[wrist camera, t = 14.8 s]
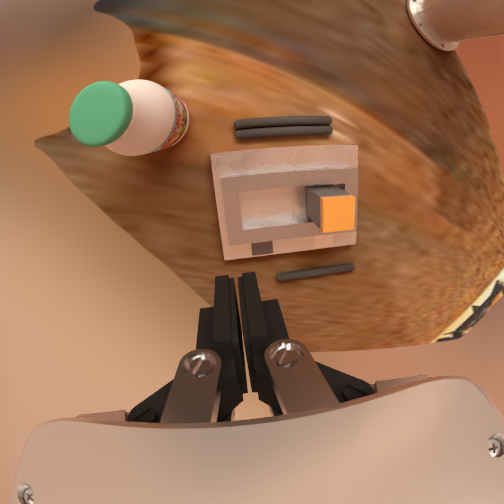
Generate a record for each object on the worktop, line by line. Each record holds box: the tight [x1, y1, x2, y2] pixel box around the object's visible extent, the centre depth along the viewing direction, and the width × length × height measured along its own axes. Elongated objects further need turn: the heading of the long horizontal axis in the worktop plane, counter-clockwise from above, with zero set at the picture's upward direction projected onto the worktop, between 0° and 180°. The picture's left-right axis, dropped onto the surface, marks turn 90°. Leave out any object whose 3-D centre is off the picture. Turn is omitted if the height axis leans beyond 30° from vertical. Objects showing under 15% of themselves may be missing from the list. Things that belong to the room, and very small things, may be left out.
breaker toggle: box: [306, 185, 355, 233], centre depth 33 cm, size 4×4×7 cm
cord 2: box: [276, 263, 355, 281], centre depth 42 cm, size 13×1×1 cm, turn 95°
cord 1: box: [234, 116, 333, 139], centre depth 33 cm, size 13×3×1 cm, turn 95°
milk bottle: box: [69, 80, 189, 156], centre depth 22 cm, size 8×8×20 cm
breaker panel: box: [210, 145, 358, 260], centre depth 36 cm, size 15×20×4 cm
